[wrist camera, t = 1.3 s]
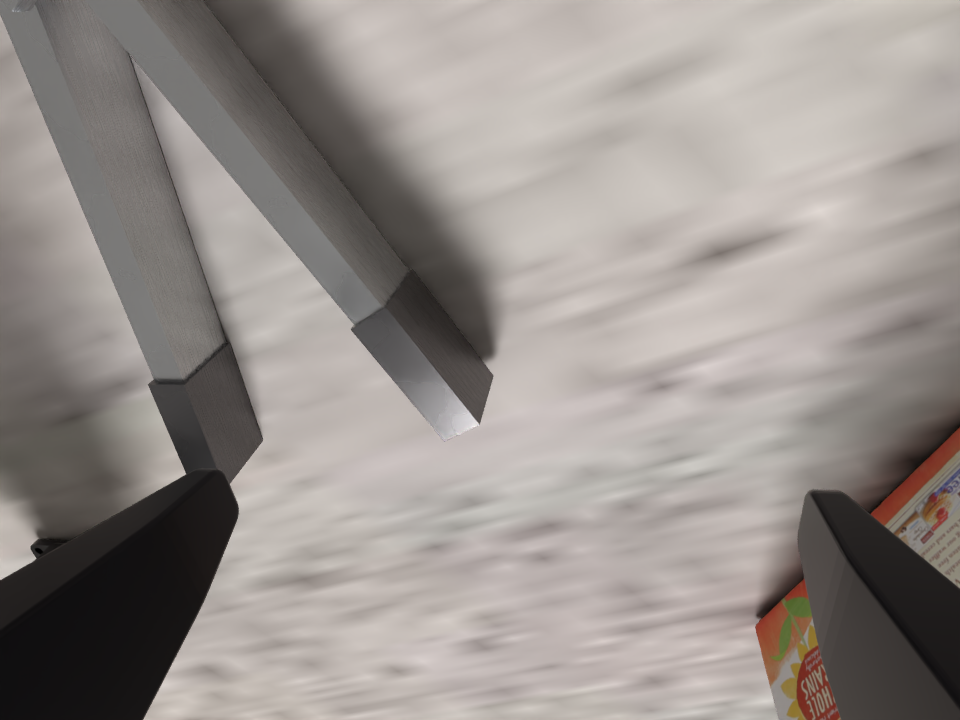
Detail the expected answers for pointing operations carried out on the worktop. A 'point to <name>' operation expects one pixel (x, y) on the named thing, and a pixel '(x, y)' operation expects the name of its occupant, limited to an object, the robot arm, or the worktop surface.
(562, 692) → the worktop surface
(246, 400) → the tongs fixed
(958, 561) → the cracker box
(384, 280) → the tongs arm
